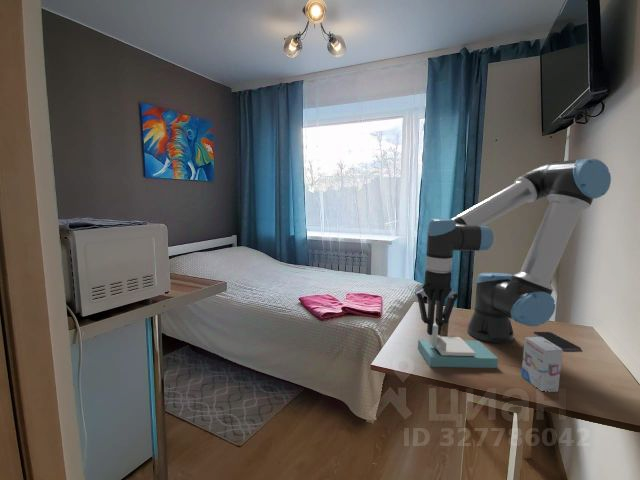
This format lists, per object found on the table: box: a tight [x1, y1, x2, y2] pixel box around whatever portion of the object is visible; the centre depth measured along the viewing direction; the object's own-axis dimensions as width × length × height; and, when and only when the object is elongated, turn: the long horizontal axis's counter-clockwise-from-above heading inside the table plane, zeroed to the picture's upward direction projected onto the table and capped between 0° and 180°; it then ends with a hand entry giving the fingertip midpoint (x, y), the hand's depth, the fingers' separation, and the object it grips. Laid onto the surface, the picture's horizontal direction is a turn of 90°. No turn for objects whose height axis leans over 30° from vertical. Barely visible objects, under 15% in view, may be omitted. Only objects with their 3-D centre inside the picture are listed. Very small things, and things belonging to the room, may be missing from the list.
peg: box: [440, 320, 450, 337], centre depth 117 cm, size 3×3×10 cm
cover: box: [428, 335, 475, 356], centre depth 106 cm, size 10×11×3 cm
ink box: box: [520, 336, 564, 393], centre depth 92 cm, size 9×5×12 cm, turn 5°
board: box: [417, 339, 499, 369], centre depth 106 cm, size 20×12×3 cm, turn 91°
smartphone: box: [532, 331, 582, 352], centre depth 121 cm, size 7×1×15 cm
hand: (432, 344), depth 106 cm, fingers closed
